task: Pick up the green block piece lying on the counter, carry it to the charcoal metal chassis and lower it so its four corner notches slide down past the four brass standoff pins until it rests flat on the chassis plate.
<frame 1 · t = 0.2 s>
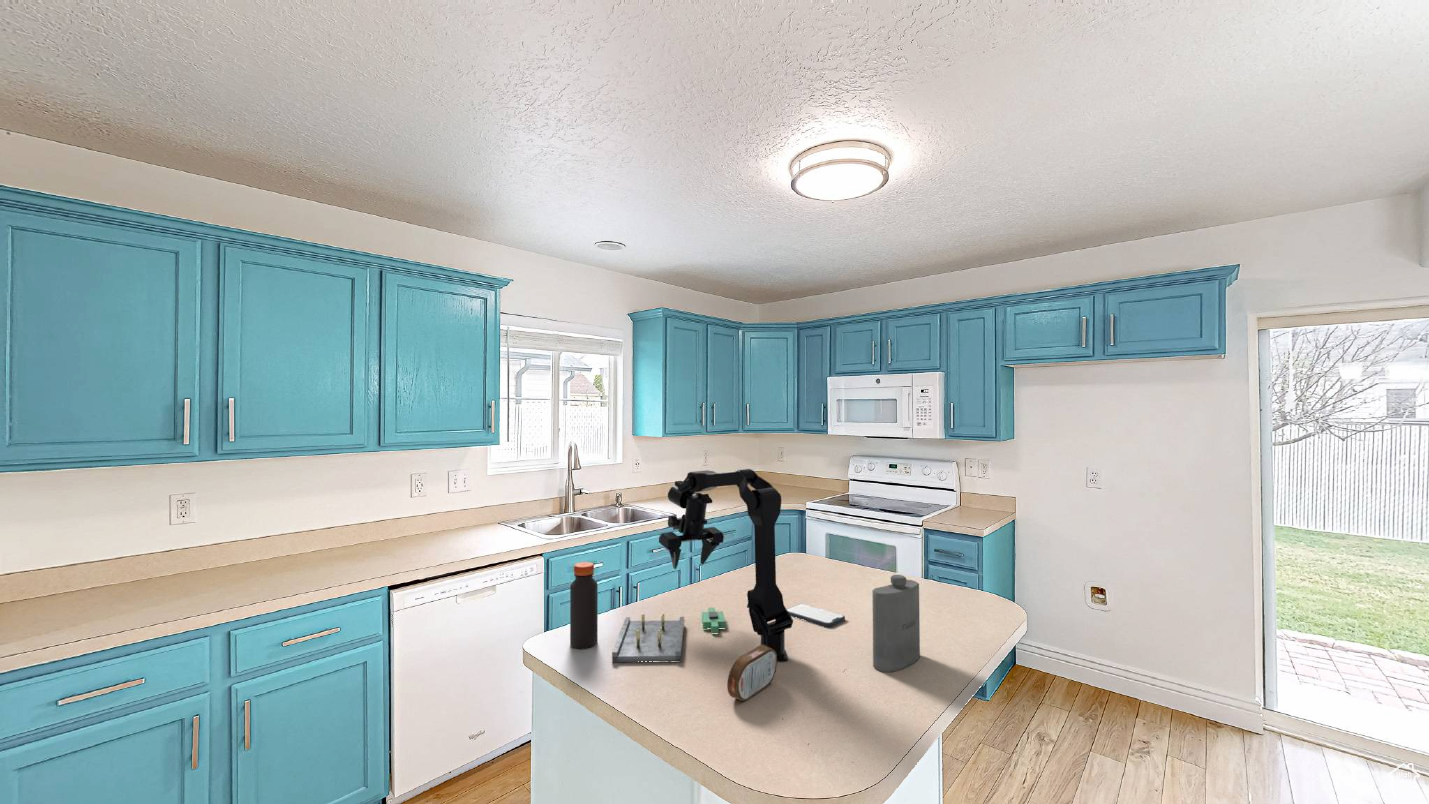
hand: (688, 566, 158), 15 cm above the table, tool pointing down, fingers open, 9 cm apart
green block piece: (713, 625, 152), on the table
bottle: (583, 644, 140), on the table
phone case: (814, 618, 158), on the table
chassis: (651, 643, 140), on the table
flask: (898, 662, 129), on the table
tin: (754, 693, 116), on the table
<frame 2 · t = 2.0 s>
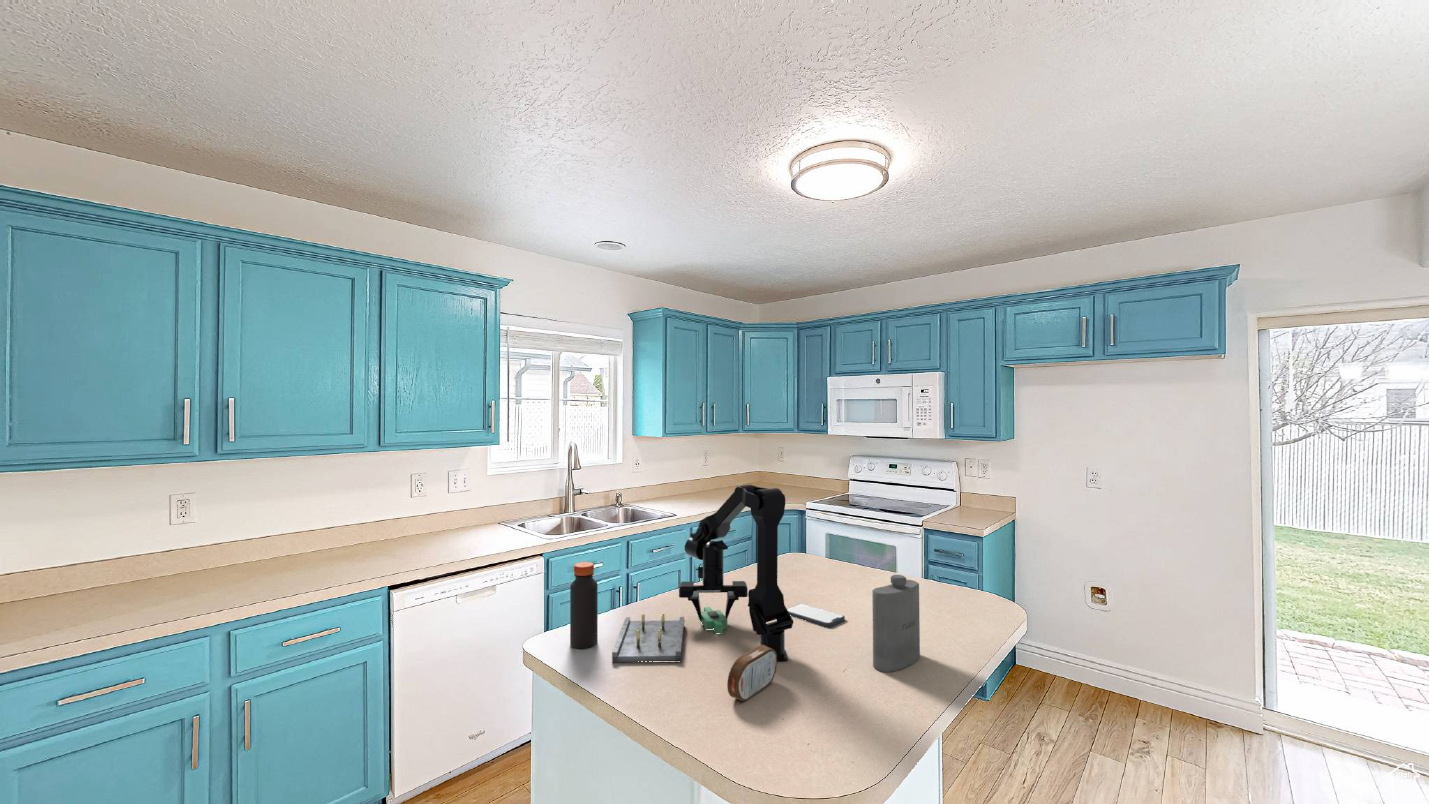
hand: (713, 620, 152), 1 cm above the table, tool pointing down, fingers closed on green block piece, 7 cm apart
green block piece: (713, 624, 152), on the table, touching gripper
everything else where it was.
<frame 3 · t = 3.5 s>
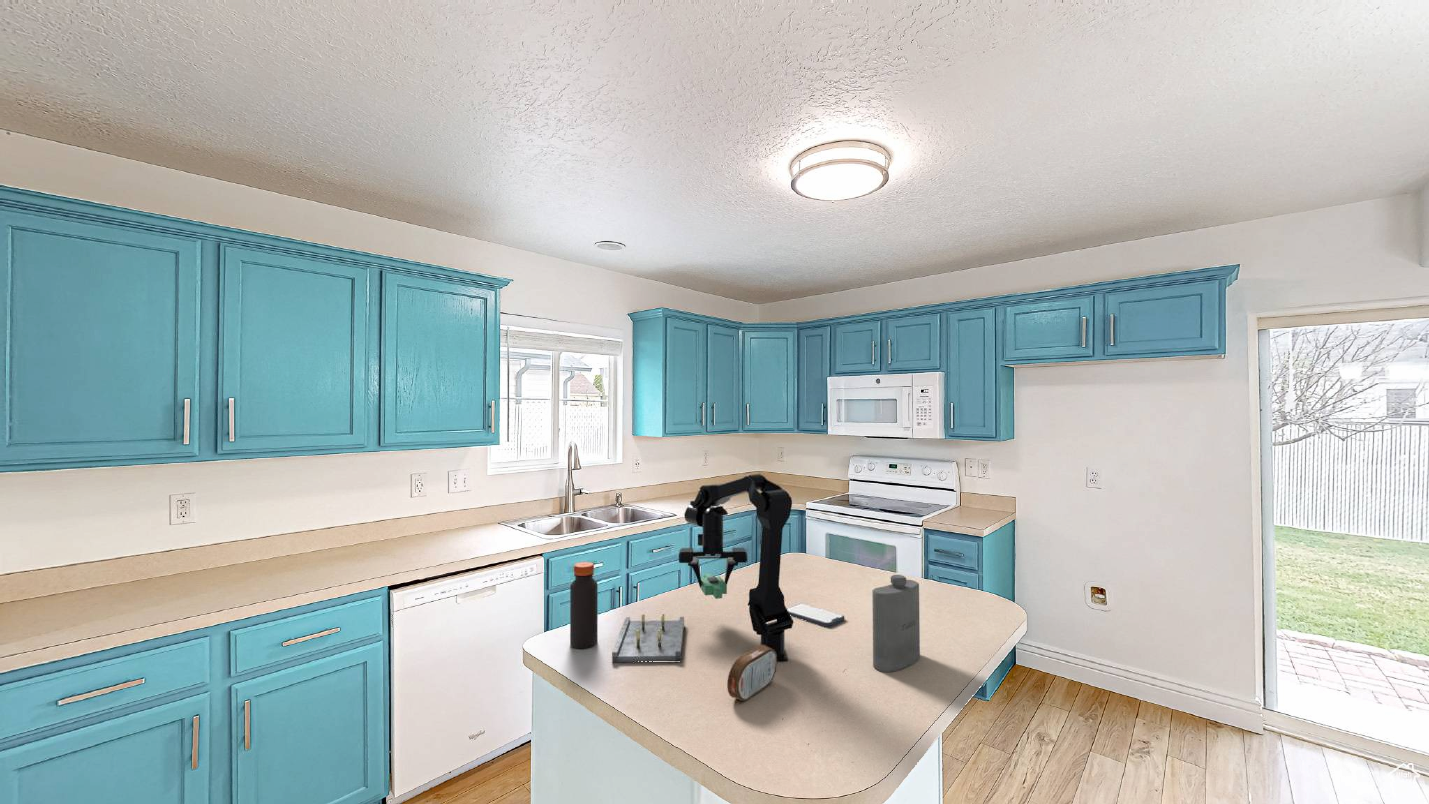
hand: (713, 586, 153), 10 cm above the table, tool pointing down, fingers closed on green block piece, 6 cm apart
green block piece: (712, 590, 153), point 9 cm above the table, touching gripper
everything else where it was.
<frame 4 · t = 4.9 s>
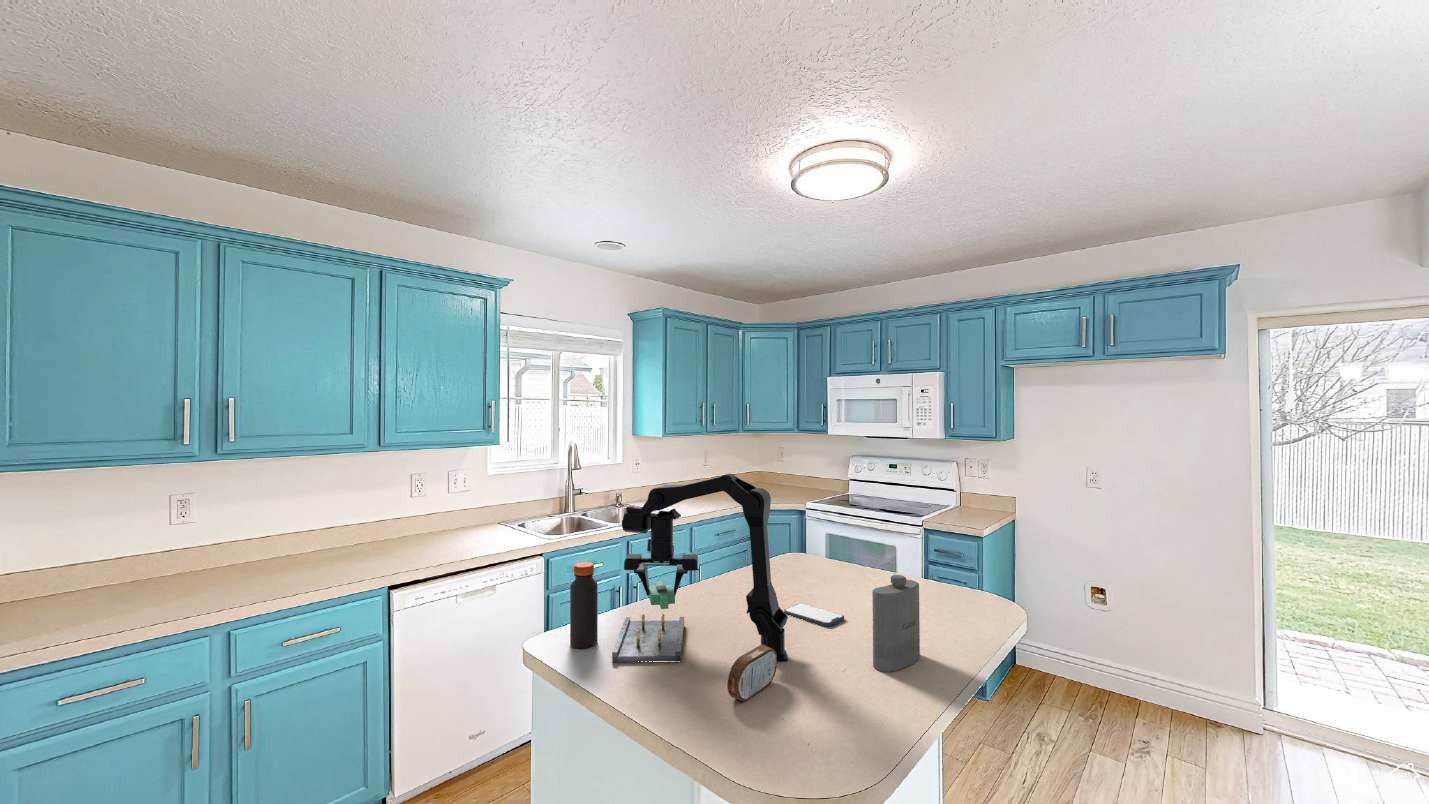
hand: (661, 595, 143), 11 cm above the table, tool pointing down, fingers closed on green block piece, 6 cm apart
green block piece: (661, 599, 143), point 10 cm above the table, touching gripper
everything else where it was.
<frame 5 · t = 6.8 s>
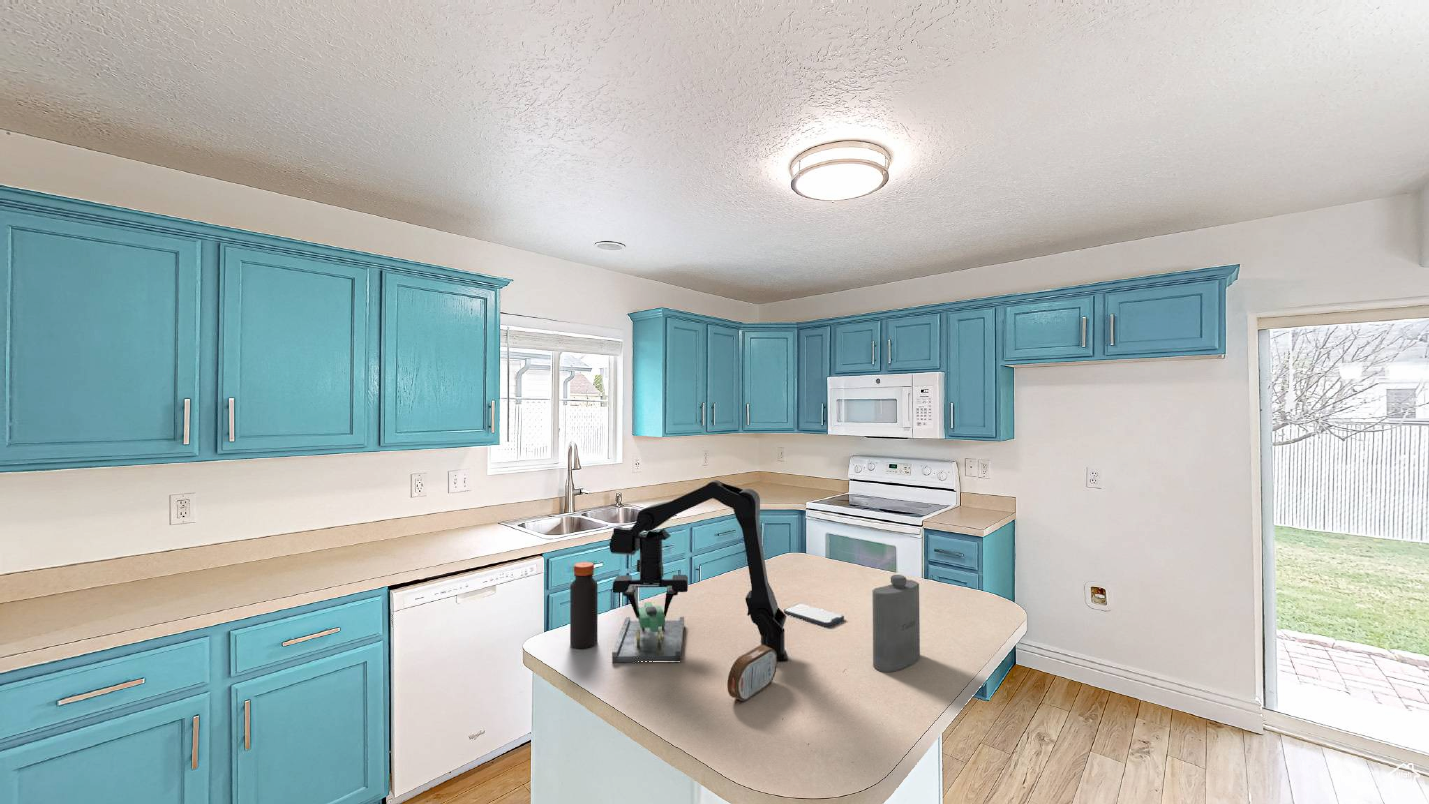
hand: (651, 617, 140), 6 cm above the table, tool pointing down, fingers closed on green block piece, 6 cm apart
green block piece: (651, 621, 140), point 5 cm above the table, touching gripper
everything else where it was.
when the fingers open (3 cm above the table, at t = 8.1 s): green block piece stays where it is, resting on chassis.
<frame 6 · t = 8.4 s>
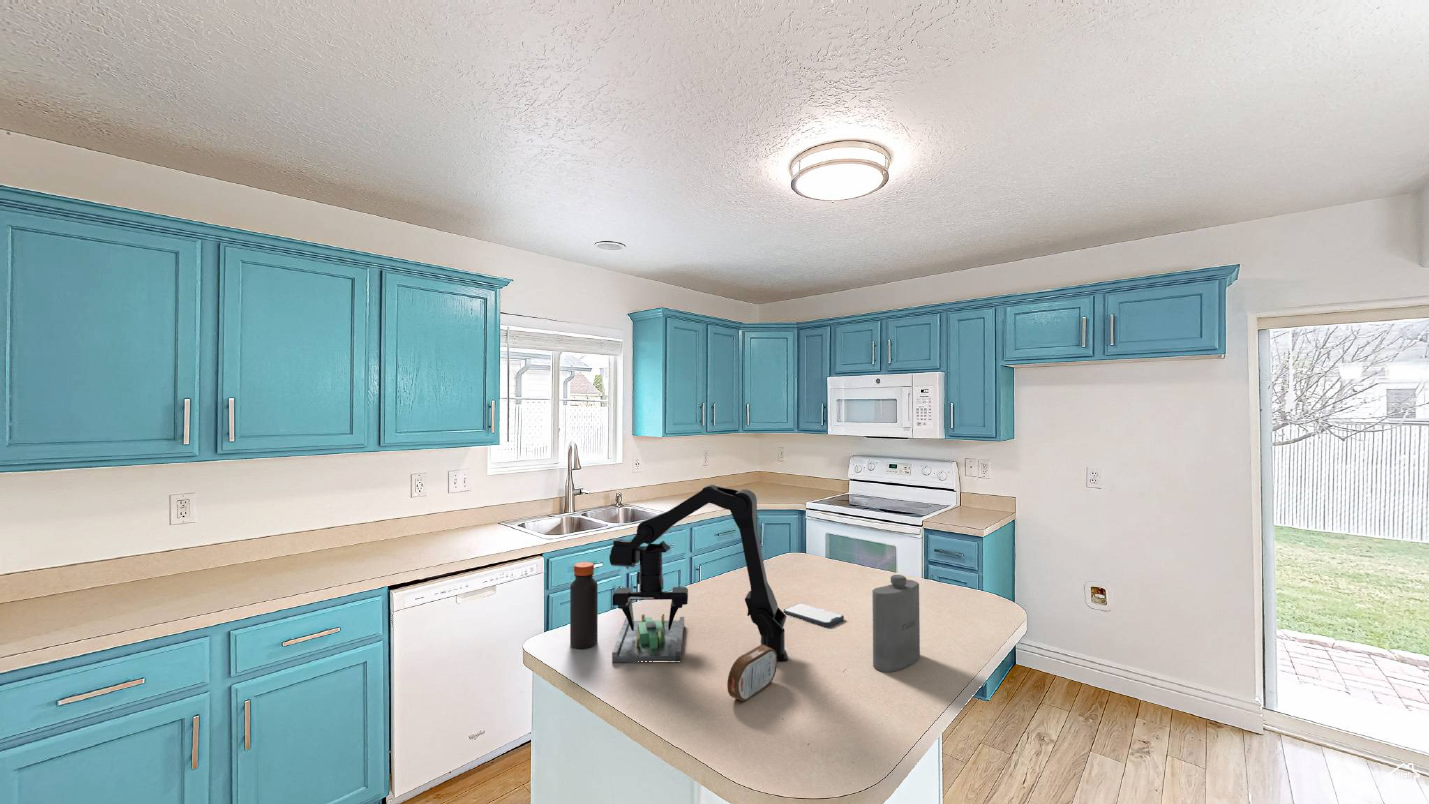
hand: (651, 630, 140), 3 cm above the table, tool pointing down, fingers open, 9 cm apart
green block piece: (650, 636, 140), point 1 cm above the table, touching chassis
everything else where it was.
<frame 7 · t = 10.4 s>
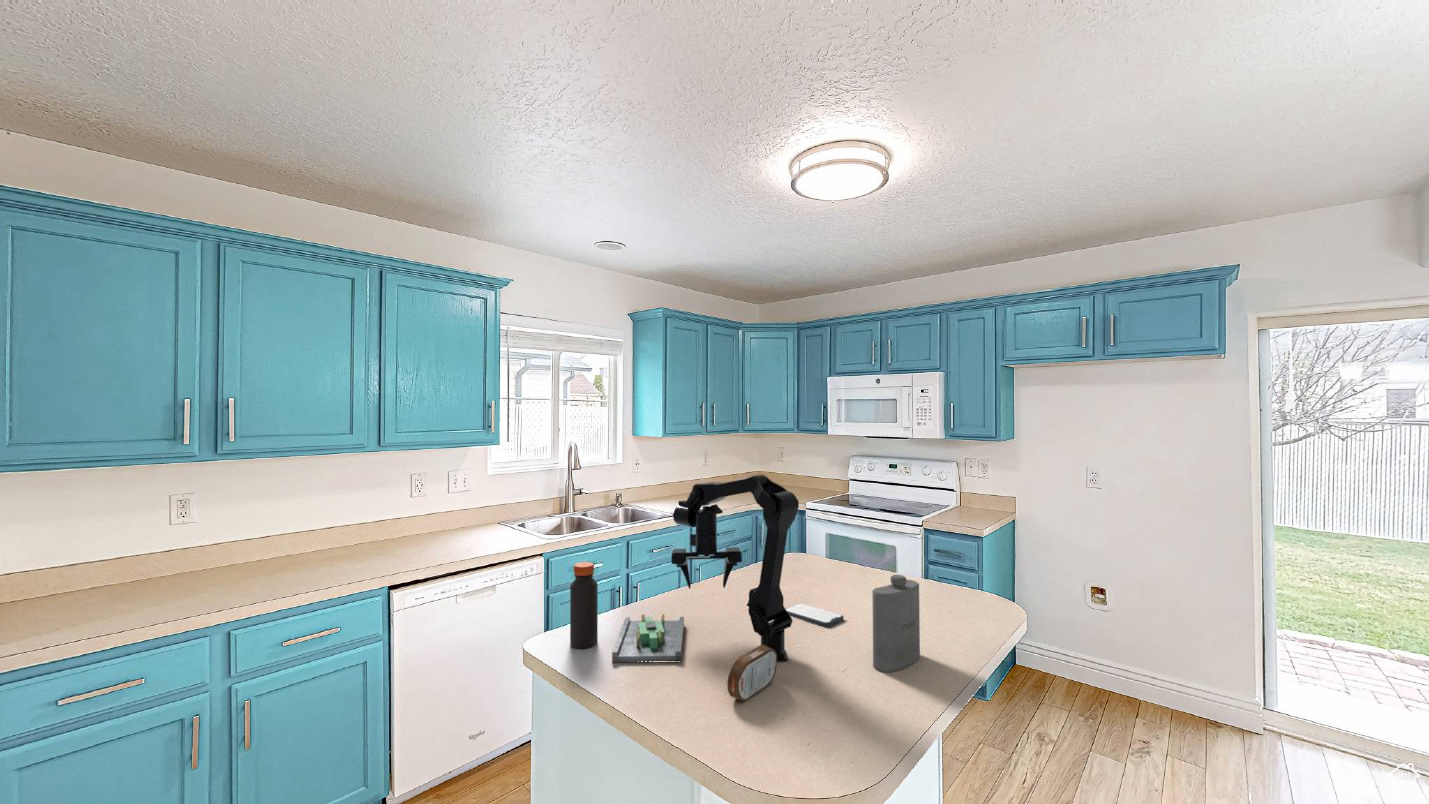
hand: (706, 587, 148), 11 cm above the table, tool pointing down, fingers open, 9 cm apart
nothing on the table moved.
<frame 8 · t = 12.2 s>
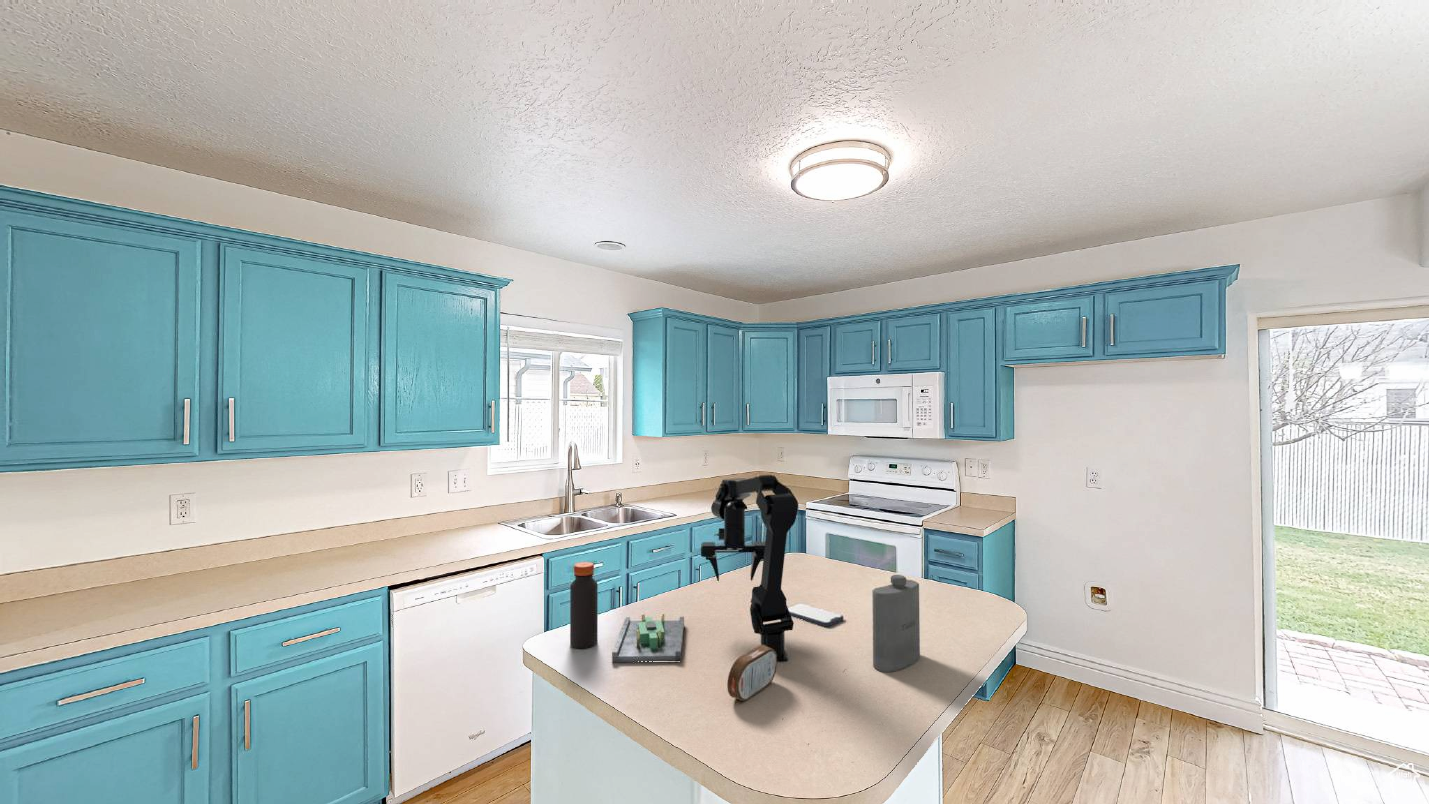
hand: (734, 580, 153), 12 cm above the table, tool pointing down, fingers open, 9 cm apart
nothing on the table moved.
at the end: green block piece 0.1 cm off-centre on the chassis, point 1.5 cm above the chassis's base; green block piece tilted 0°; the gripper is holding nothing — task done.
